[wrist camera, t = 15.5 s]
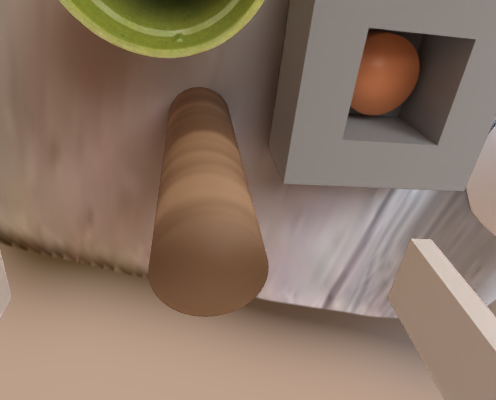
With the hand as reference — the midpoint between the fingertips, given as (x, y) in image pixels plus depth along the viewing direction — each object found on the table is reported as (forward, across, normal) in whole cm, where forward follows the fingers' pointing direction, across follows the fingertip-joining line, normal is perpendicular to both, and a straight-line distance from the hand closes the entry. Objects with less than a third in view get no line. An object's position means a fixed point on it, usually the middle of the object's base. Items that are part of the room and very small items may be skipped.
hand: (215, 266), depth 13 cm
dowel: (+16, 0, -1) cm, 16 cm away
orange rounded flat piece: (+16, +11, +3) cm, 20 cm away
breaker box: (+16, +11, +3) cm, 20 cm away
